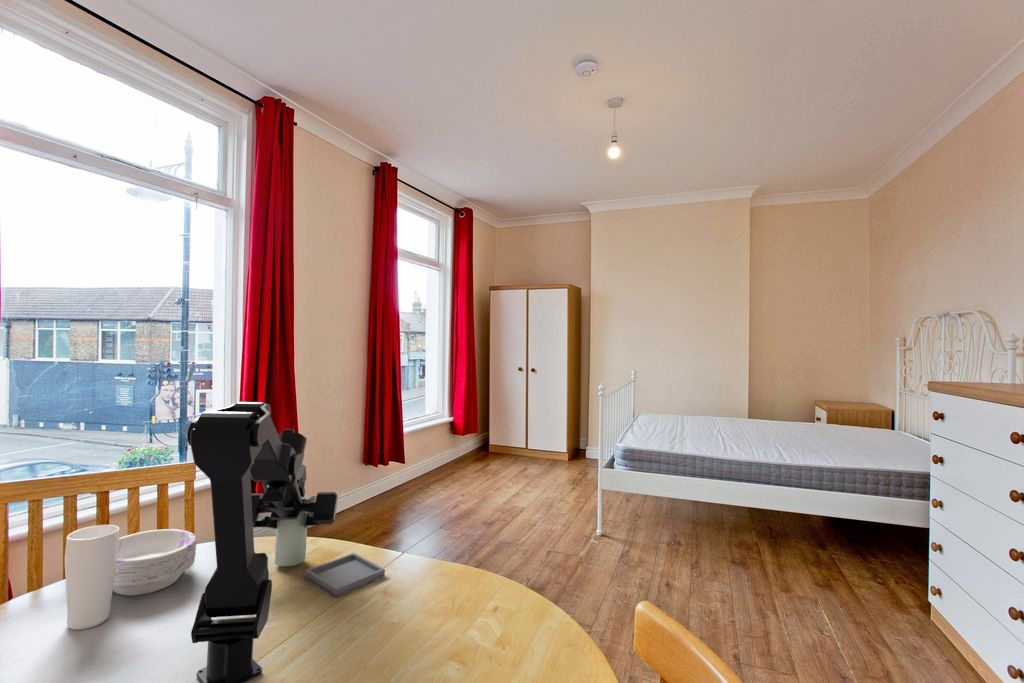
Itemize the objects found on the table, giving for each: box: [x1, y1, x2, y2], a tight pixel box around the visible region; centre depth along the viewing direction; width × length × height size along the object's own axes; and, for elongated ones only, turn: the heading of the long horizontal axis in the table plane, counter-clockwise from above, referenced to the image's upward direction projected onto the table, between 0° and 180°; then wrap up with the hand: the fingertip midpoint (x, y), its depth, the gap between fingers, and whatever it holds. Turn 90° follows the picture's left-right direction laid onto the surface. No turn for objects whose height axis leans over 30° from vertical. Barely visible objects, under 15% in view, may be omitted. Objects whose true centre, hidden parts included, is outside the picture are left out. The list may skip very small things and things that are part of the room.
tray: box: [304, 552, 386, 598], centre depth 97 cm, size 11×11×2 cm
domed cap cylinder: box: [274, 494, 310, 567], centre depth 101 cm, size 6×6×13 cm
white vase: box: [64, 524, 121, 631], centre depth 78 cm, size 7×7×15 cm
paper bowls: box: [112, 528, 197, 596], centre depth 91 cm, size 15×15×8 cm
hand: (293, 526), depth 103 cm, fingers closed on domed cap cylinder, 6 cm apart
